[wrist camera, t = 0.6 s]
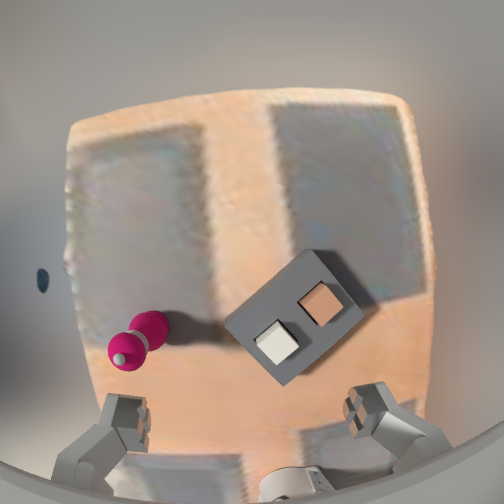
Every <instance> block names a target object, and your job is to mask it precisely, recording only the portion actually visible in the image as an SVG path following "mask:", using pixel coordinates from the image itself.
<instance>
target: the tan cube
mask: <svg viewBox="0 0 504 504" xmlns="http://www.w3.org/2000/svg"><path fill="white" fill-rule="evenodd" d="M298 302H299V303H300V304H301V305H302V306H303V307H304V308H305V310H306V311H307V312H308V313H309V314H310V315H311V316H312V318H313V319H314V320H315V321H316V322H317V323H318V324H319V325H320V326H321V327H322V326H323V325H325V324H326V323H327V322H328V321H329V320H330V319H331V318H332V317H333V316H334V315H336V314H337V313H338V312H339V311H340V310H341V309H342V308H343V306H342V304H341V303H340V302H339V301H338V299H337V298H336V297H335V296H334V295H333V293H332V292H331V291H330V290H329V289H328V287H327V286H326V285H324V284H322V283H320V282H319V283H318V284H316V285H315V286H314V287H313V288H312V289H311V290H310V291H309V292H308V293H307V294H305V295H304V296H303V297H302V298H301V299H300V300H299V301H298Z"/></svg>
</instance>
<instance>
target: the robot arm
mask: <svg viewBox="0 0 504 504" xmlns="http://www.w3.org/2000/svg"><path fill="white" fill-rule="evenodd" d="M348 395H349V397H348V398H347V399H345V401H344V404H343V413H344V417H345V419H346V420H347V421H348V422H350V426H349V429H350V431H351V434H352V436H353V439H358V438H363V437H367V436H371V437H372V438H374V439H375V440H376V441H377V442H379V443H380V444H381V445H382V446H384V447H385V448H386V449H387V450H389V451H390V452H391V453H392V454H394V455H395V456H396V457H398V458H399V460H398V461H397V463H396V464H395V465H394V466H393V468H392V470H393V472H394V474H391V475H388V476H385V477H382V478H379V479H376V480H372V481H369V482H366V483H362V484H359V485H355V486H351V487H348V488H344V489H339V490H336V489H335V488H334V487H333V486H332V484H331V483H330V482H329V481H328V480H327V478H326V477H325V476H324V475H323V473H322V472H321V471H320V469H319V468H318V467H317V466H310V467H306V468H297V467H290V468H283V469H279V470H276V471H274V472H272V473H270V474H268V475H267V476H265V477H264V478H263V479H262V480H261V482H260V484H259V491H260V494H259V496H258V502H259V503H248V504H504V421H502V422H499V423H498V424H496V425H494V426H493V427H491V428H490V429H488V430H486V431H485V432H483V433H481V434H480V435H478V436H476V437H474V438H473V439H471V440H469V441H467V442H465V443H463V444H461V445H459V446H457V447H455V448H452V446H451V445H450V443H449V441H448V440H447V438H446V436H445V434H444V433H443V431H442V429H441V428H439V427H437V426H435V425H433V424H431V423H430V422H428V421H426V420H424V419H423V418H421V417H419V416H417V415H415V414H414V413H412V412H410V411H408V410H407V409H405V408H403V407H399V406H398V404H397V402H396V401H395V399H394V397H393V395H392V394H391V392H390V390H389V389H388V387H387V385H386V384H385V383H384V382H383V381H382V382H377V383H373V384H366V385H361V386H356V387H351V388H350V389H349V391H348ZM146 406H147V401H146V398H145V397H138V396H129V395H121V394H113V393H108V394H107V396H106V398H105V402H104V405H103V409H102V412H101V416H100V419H99V423H98V425H97V424H94V425H93V426H92V427H91V428H90V429H88V430H87V431H86V432H85V433H84V434H82V435H81V436H80V437H79V438H78V439H76V440H75V441H74V442H73V443H71V444H70V445H69V446H68V447H67V448H65V449H64V450H63V451H62V452H60V453H59V454H58V456H57V460H56V463H55V467H54V470H53V474H52V477H51V480H48V479H45V478H42V477H39V476H37V475H34V474H31V473H28V472H26V471H23V470H21V469H18V468H16V467H13V466H11V465H8V464H6V463H4V462H2V461H0V504H173V503H161V502H151V501H142V500H135V499H128V498H122V497H116V496H113V493H114V490H113V489H112V488H111V486H110V485H109V484H108V483H107V482H106V481H105V479H104V478H105V477H106V476H107V475H108V474H109V473H110V472H111V470H112V469H113V468H114V467H115V466H116V465H117V464H118V462H119V461H120V460H121V459H122V458H123V457H124V455H125V454H126V453H127V451H133V452H145V453H148V445H149V438H148V435H147V433H148V432H149V431H150V429H151V415H150V411H149V409H148V408H147V407H146ZM315 472H316V473H315Z"/></svg>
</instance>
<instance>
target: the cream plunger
mask: <svg viewBox="0 0 504 504" xmlns="http://www.w3.org/2000/svg"><path fill="white" fill-rule="evenodd" d="M256 342H257V346H258V347H259V348H260V349H261V350H262V351H263V352H264V353H265V354H266V355H267V356H268V357H269V358H270V359H271V360H272V361H273V362H274V363H275V364H276V365H278V364H279V363H280V362H281V361H283V360H284V359H285V358H286V357H287V356H289V355H290V354H291V353H292V352H293V351H295V350H296V349H297V348H298V347H299V346H298V344H297V342H296V341H295V339H294V337H293V336H292V335H291V334H290V333H289V332H288V331H287V330H286V329H285V328H284V327H283V325H282V324H281V323H280V322H279V321H278V320H276V321H275V322H273V323H272V324H271V325H270V326H269V327H268V328H266V329H265V330H264V331H263V332H262V333H260V334H259V335H258V336H257V337H256Z"/></svg>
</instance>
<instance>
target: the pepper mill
mask: <svg viewBox="0 0 504 504" xmlns="http://www.w3.org/2000/svg"><path fill="white" fill-rule="evenodd" d="M168 331H169V324H168V321H167V319H166V318H165V316H164V315H162V314H161V313H159V312H157V311H148V312H146V313H141V314H139V315H137V316H136V317H135V318H134V319H133V320H132V321H131V323H130V326H129V330H128V331H126V332H123V333H119V334H117V335H115V336H114V337H113V338H112V339H111V341H110V343H109V346H108V355H109V358H110V360H111V362H112V363H113V365H115V366H116V367H117V368H118V369H120V370H123V371H134V370H136V369H138V368H139V367H141V366H142V365H143V363H144V361H145V359H146V355H147V353H148V351H154V350H156V349H158V348H159V347H161V346H162V345H163V344H164V342H165V340H166V337H167V334H168Z"/></svg>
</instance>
